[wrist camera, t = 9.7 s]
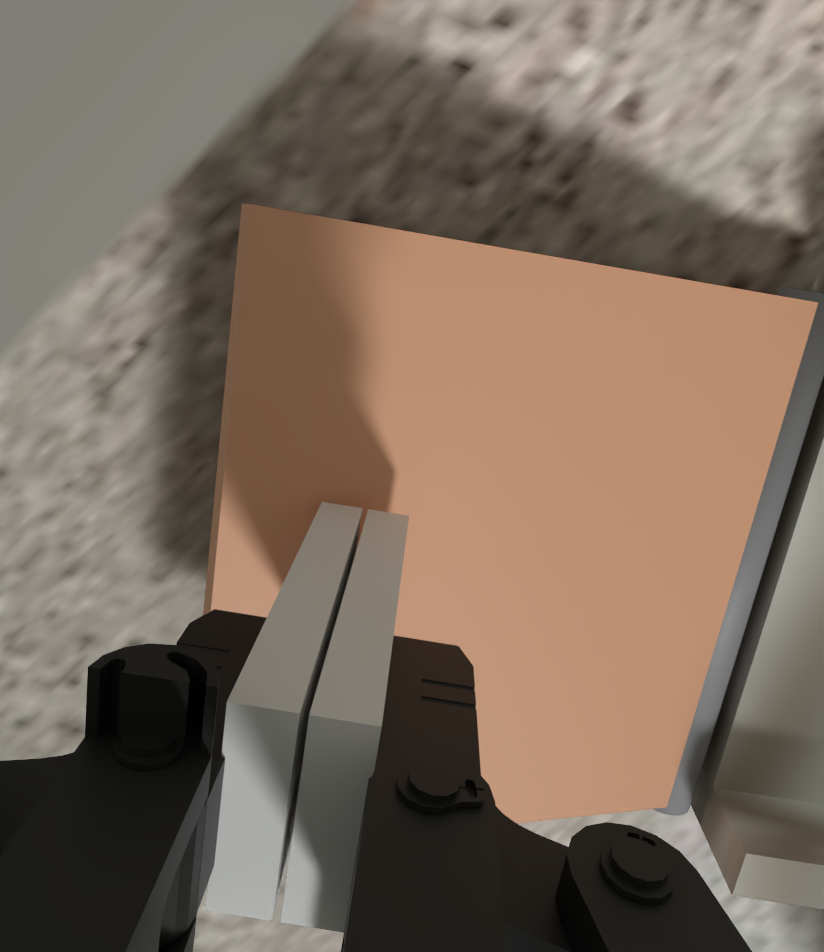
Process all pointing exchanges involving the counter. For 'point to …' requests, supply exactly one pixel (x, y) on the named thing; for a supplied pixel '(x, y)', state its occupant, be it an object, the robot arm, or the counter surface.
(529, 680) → the panel
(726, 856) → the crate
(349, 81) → the counter surface
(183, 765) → the robot arm
